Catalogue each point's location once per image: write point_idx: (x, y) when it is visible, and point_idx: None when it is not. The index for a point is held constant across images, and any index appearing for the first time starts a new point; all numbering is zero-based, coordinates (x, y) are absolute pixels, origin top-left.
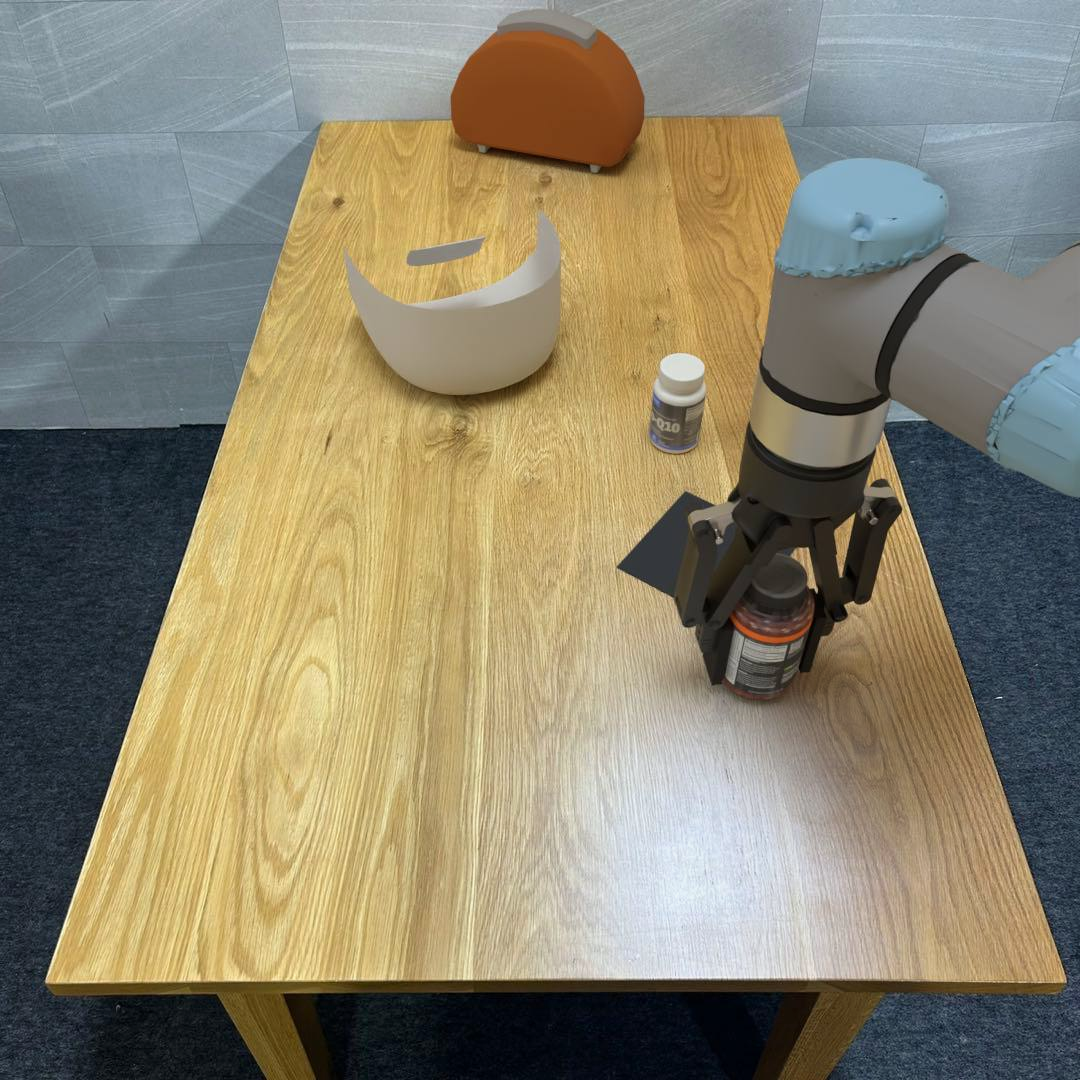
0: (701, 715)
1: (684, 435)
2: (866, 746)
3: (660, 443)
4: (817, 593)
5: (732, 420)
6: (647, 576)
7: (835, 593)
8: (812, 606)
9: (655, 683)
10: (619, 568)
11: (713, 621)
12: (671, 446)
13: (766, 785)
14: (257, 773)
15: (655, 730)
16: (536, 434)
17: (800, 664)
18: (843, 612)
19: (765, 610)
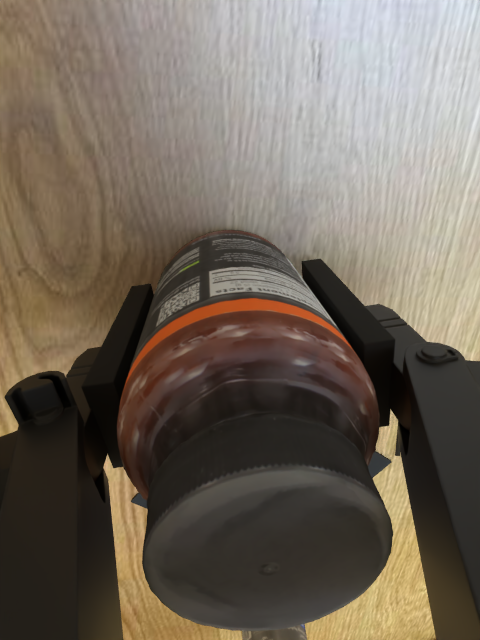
0: (335, 209)
1: (271, 636)
2: (27, 126)
3: None
4: (105, 456)
5: (197, 636)
6: None
7: (33, 476)
8: (125, 422)
9: (394, 275)
10: (388, 459)
11: (450, 364)
12: None
13: (244, 29)
14: None
15: (423, 178)
16: (427, 606)
17: (150, 298)
18: (24, 403)
19: (312, 404)
